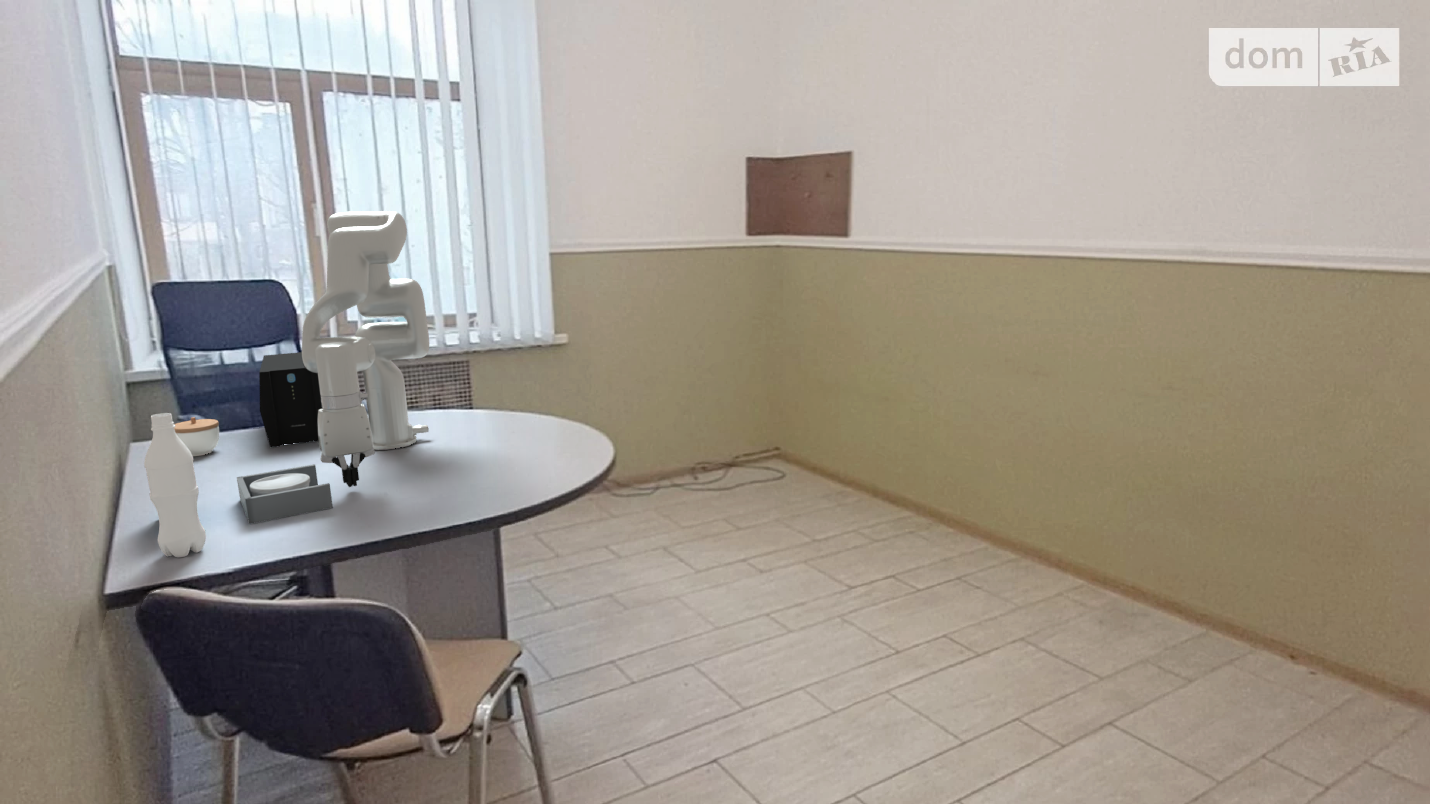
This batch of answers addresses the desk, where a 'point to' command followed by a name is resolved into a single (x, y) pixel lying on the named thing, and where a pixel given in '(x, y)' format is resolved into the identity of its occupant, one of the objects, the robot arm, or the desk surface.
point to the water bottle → (173, 489)
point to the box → (284, 497)
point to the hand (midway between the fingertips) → (351, 484)
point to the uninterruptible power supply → (289, 399)
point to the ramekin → (279, 483)
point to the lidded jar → (198, 435)
